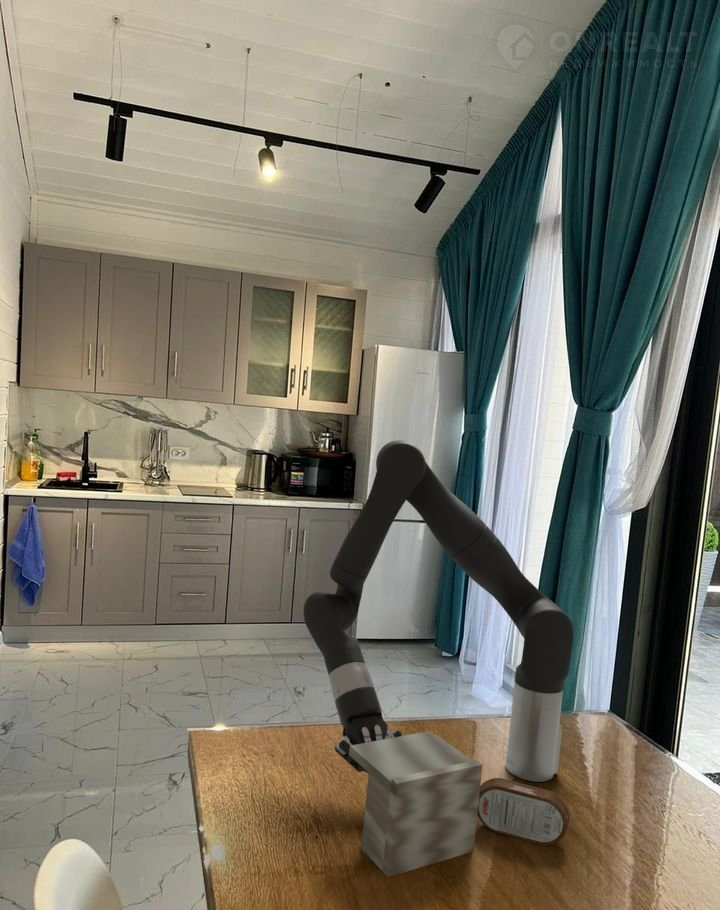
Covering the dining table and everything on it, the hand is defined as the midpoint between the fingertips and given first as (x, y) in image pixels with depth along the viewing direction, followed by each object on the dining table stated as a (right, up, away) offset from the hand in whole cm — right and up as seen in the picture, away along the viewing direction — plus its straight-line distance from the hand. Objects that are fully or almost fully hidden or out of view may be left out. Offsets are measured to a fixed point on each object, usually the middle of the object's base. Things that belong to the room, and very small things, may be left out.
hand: (384, 793), depth 121 cm
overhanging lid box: (+3, -4, -5) cm, 7 cm away
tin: (+22, -6, -2) cm, 23 cm away
